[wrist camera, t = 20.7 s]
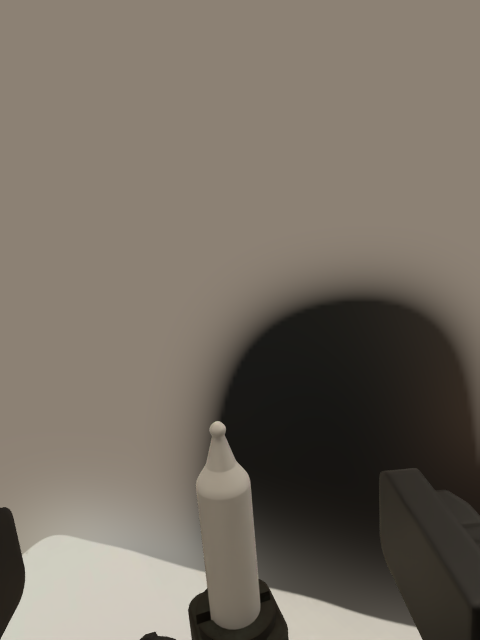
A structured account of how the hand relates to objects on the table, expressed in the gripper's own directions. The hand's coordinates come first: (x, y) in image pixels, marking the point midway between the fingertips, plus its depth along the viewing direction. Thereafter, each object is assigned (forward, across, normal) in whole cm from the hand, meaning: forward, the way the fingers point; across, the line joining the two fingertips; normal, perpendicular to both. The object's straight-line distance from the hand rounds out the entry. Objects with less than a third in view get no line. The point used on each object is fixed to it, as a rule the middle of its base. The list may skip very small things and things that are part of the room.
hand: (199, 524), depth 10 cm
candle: (+13, 0, +29) cm, 32 cm away
